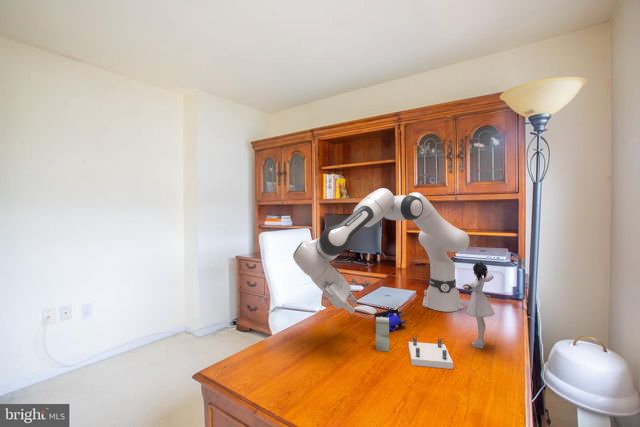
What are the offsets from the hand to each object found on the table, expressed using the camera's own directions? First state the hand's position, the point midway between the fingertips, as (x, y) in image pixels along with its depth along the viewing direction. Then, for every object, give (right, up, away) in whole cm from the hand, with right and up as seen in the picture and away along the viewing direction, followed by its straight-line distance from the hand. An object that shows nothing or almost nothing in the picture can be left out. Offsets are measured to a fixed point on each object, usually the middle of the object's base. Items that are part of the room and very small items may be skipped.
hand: (354, 307), depth 107 cm
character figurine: (+16, -13, +14) cm, 25 cm away
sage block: (+10, -14, -2) cm, 17 cm away
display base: (+23, -14, -9) cm, 29 cm away
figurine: (+44, -14, -2) cm, 46 cm away
